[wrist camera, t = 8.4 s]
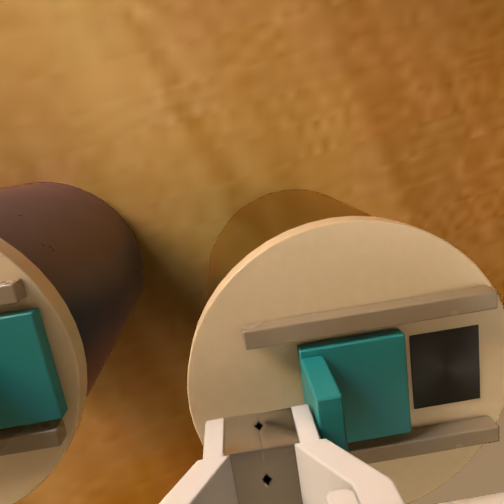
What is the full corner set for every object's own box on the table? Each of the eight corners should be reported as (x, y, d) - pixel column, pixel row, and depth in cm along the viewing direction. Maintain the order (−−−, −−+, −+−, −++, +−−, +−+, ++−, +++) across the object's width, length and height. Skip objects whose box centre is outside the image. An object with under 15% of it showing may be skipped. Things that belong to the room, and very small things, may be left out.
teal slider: (309, 439, 14) (329, 506, 11) (296, 344, 13) (314, 392, 11) (405, 422, 14) (447, 485, 11) (398, 327, 13) (442, 371, 11)
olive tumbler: (220, 368, 27) (217, 560, 14) (189, 200, 24) (152, 255, 12) (386, 340, 27) (525, 505, 15) (373, 171, 24) (527, 195, 12)
